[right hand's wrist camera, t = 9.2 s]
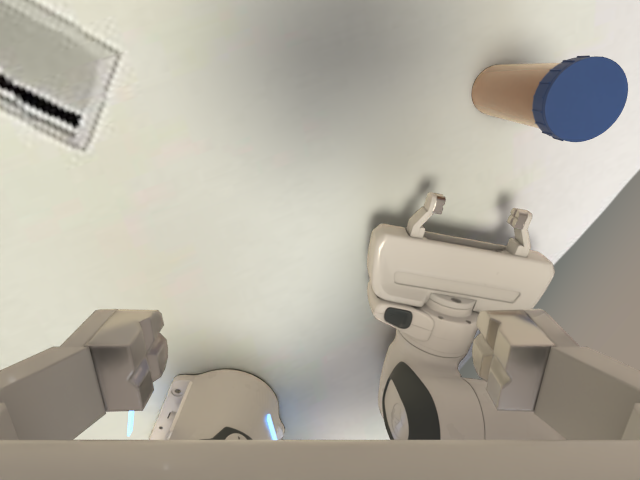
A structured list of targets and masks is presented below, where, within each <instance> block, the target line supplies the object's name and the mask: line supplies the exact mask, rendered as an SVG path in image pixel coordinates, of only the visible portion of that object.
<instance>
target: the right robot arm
mask: <svg viewBox="0 0 640 480" xmlns="http://www.w3.org/2000/svg"><path fill="white" fill-rule="evenodd" d="M163 326H164V323H163V318H162V314H161V313H160V312H159V311H158V310H129V309H120V310H118V309H100V310H95V311H94V313H93V314H92V315H91V316H90V317H89V318H88V319H87V320H86V321H85V322H84V323H83V324H82V325H81V326H80V327H79V328H78V329H77V330H76V331H75V332H74V333H73V334H72V335H71V336H70V337H69V338H68V339H67V340H66V341H65V342H64V343H63V344H62V345H61V346H60V347H51V348H49V349H47V350H45V351H42V352H40V353H38V354H36V355H33V356H31V357H29V358H27V359H25V360H22V361H20V362H18V363H16V364H13V365H11V366H9V367H7V368H5V369H2V370H0V480H640V370H638V369H635V368H633V367H631V366H629V365H626V364H624V363H622V362H620V361H618V360H615V359H613V358H611V357H609V356H606V355H604V354H602V353H600V352H598V351H595V350H593V349H591V348H589V347H580V346H579V345H578V344H577V343H576V342H575V341H574V340H573V339H572V338H571V337H570V336H569V335H568V334H567V333H566V332H565V331H564V330H563V329H562V328H561V327H560V326H559V325H558V323H557V322H556V321H555V320H554V319H553V318H552V317H551V316H550V315H549V314H548V313H547V312H546V311H544V310H541V309H524V310H488V311H480V312H479V315H478V317H477V322H476V326H477V327H478V329H479V331H480V332H481V333H480V334H479V335H478V336H477V337H476V338H475V339H474V340H473V347H472V357H473V364H474V367H475V370H476V372H477V374H478V376H479V377H480V378H482V379H483V380H485V381H486V382H487V387H486V391H487V393H488V394H489V396H490V398H491V400H492V402H493V404H494V405H495V407H496V409H497V411H530V412H534V414H535V415H537V416H538V417H539V418H540V419H542V420H543V421H544V422H545V423H547V424H548V425H549V426H551V427H552V428H553V429H554V430H556V431H557V432H558V433H559V434H561V435H562V436H563V437H564V438H566V439H567V440H73V439H74V438H76V437H77V436H78V435H79V434H81V433H82V432H83V431H85V430H86V429H87V428H88V427H90V426H91V425H92V424H93V423H95V422H96V421H97V420H98V419H100V418H101V417H102V416H104V415H105V414H106V412H110V411H143V409H144V407H145V406H146V404H147V402H148V400H149V398H150V396H151V395H152V393H153V391H154V387H153V382H154V381H156V380H157V379H159V378H160V377H161V376H162V374H163V372H164V370H165V367H166V363H167V358H168V346H167V340H166V339H165V338H164V337H163V336H162V335H161V334H160V333H159V332H160V331H161V329H162V327H163Z"/></svg>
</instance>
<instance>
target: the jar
mask: <svg viewBox="0 0 640 480" xmlns="http://www.w3.org/2000/svg"><path fill="white" fill-rule="evenodd" d="M558 64H560V63H535V64H499V65H493V66H490V67H488V68H486V69H485V70H484V71H482V72H481V73H480V74H479V76H478V77H477V78H476V80H475V82H474V84H473V88H472V100H473V103H474V105H475V107H476V108H477V109H478V110H479V111H480V112H482V113H484V114H487V115H490V116H494V117H498V118H502V119H505V120H509V121H513V122H517V123H520V124H524V125H528V126H532V127H535V128H539V127H538V125H537V124H535V120H534V116H533V111H532V105H533V98H534V97H533V95H534V94H535V92H536V89H537V87H538V85H539V82H540V81H541V80H542V79H543V78H544V76H545V75H546V74H547V73H548V72H549V71H550V69H552V68H554V67H555V66H556V65H558ZM539 129H540V128H539Z"/></svg>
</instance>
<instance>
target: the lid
mask: <svg viewBox="0 0 640 480" xmlns="http://www.w3.org/2000/svg"><path fill="white" fill-rule="evenodd" d="M627 94H628V83H627V78H626V75H625V73H624V71H623V70H622V68H621V67H620V66H619V65H618V64H617V63H616V62H614V61H613V60H611V59H608V58H605V57H590V56H577V58H572V59H568V60H563V62H561V63H560V64H558V65H556V66H555V67H554V68H552V69H550V71H549V72H548V73H547V74H546V75H545V76H544V78H543V79H542V80H541V81H540V82H539V85H538V87H537V89H536V92H535V94H534V95H533V97H534V98H533V105H532V111H533V116H534V120H535V124H537V125H538V127H539V128H540V129H541V130H542V131H543V132H542V133H545V134H547V135H549V136H552V137H553V138H554V139H558V140H561V141H563V140H565V141H570V142H582V141H587V140H590V139H592V138H595V137H597V136H598V135H600V134H602V133H603V132H605V131H606V130H607V129H608V128H609V127H610V126H612V124H613V123H614V122H615V121H616V120H617V118H618V117H619V115H620V114H621V112H622V110H623V108H624V106H625V103H626V99H627Z"/></svg>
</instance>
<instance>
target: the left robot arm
mask: <svg viewBox="0 0 640 480" xmlns="http://www.w3.org/2000/svg"><path fill="white" fill-rule="evenodd" d="M445 200H446V199H445V196H443V195H442V194H437V193H433V192H428V194H427V197H426V200H425V203H424V207H421V208H420V209H419V210H418V211H417V212H416V213H415V214H414V215H413V216H412V217H411V218H410V219H409V221H408V224H407V227H406V228H405V227H400V226H394V225H388V224H380V225H378V226H377V227H376V228H375V229H373V231H372V233H371V237H370V242H369V248H368V256H367V269H368V274H369V278H370V280H369V282H368V285H367V295H368V301H369V305H370V308H371V311H372V313H373V315H374V317H375V318H376V319H378V320H379V321H381V322H383V323H386V324H388V325H390V326H392V327H394V328H396V336H395V339H394V340H393V342H392V343H391V344H390V346H389V348H388V351H387V354H386V357H385V361H384V364H383V368H382V373H381V378H380V384H379V393H378V405H379V409H380V413H381V415H382V417H383V419H384V422H385V426H386V429H387V432H388V435H389V437H390V440H567V439H566V438H564V437H563V436H562V435H561V434H559V433H558V432H557V431H556V430H554V429H553V428H552V427H551V426H549V425H548V424H547V423H545V422H544V421H543V420H542V419H540V418H539V417H538V416H537V415H535V414H534V412H530V411H497V409H496V407H495V405H494V404H493V402H492V400H491V398H490V396H489V394H488V393H487V391H486V387H487V382H486V381H485V380H481V379H471V378H461V377H462V376H461V374H460V373H459V371H458V365H459V363H460V361H461V360H462V359H463V358H464V357H465V356H466V354H467V353H468V351H469V348H470V346H471V344H472V341H473V339H474V336H475V334H476V331H477V329H478V327H477V326H476V322H477V317H478V315H479V312H480V311H488V310H524V309H533V307H534V306H535V305H536V304H537V302H538V301H539V299H540V298H541V296H542V295H543V293H544V292H545V290H546V289H547V287H548V285H549V284H550V282H551V280H552V278H553V276H554V274H555V270H554V267H553V264H552V262H551V261H550V260H549V259H547V258H546V257H545V256H544V255H542V254H541V253H540V252H537V251H533V250H530V248H531V245H530V239H529V234H528V230H527V229H528V226H529V224H530V222H531V219H532V213H530V212H529V211H527V210H523V209H517V208H513V209H512V210H511V212H510V213H511V215H510V216H509V217H508V220H507V223H509V224H510V225H511V226H512V227H514V232H515V239H514V238H510V239H509V241H508V244H507V246H505V245H499V244H494V243H488V242H483V241H477V240H472V239H466V238H461V237H455V236H449V235H444V234H438V233H433V232H427V231H425V228H424V226H423V224H424V223H425V222H426V221H427V220H428V219H429V218H430V217H431V216H432V215H433V214H434V213H436V214H441V213H442V210H443V207H442V206H443V205H444V204H445ZM178 389H179V390H178ZM133 417H134V411H129V420H128V433H127V436H130V434H131V432H132V429H133ZM284 431H285V429H284V426H283V424H282V422H281V420H280V419H279V406H278V401H277V398H276V396H275V394H274V392H273V391H272V389H271V388H270V387H269V386H268V385H267V384H266V383H265V382H263V381H262V380H260V379H259V378H257V377H255V376H253V375H251V374H249V373H246V372H242V371H237V370H228V369H223V370H214V371H210V372H207V373H203V374H200V375H178V376H176V377H175V378H174V379H173V381H172V384H171V386H170V389H169V391H168V393H167V396H166V398H165V401H164V403H163V406H162V408H161V411H160V413H159V416H158V418H157V421H156V423H155V425H154V428H153V430H152V433H151V435H150V438H149V440H280V439H282V438H283V436H284Z"/></svg>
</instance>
